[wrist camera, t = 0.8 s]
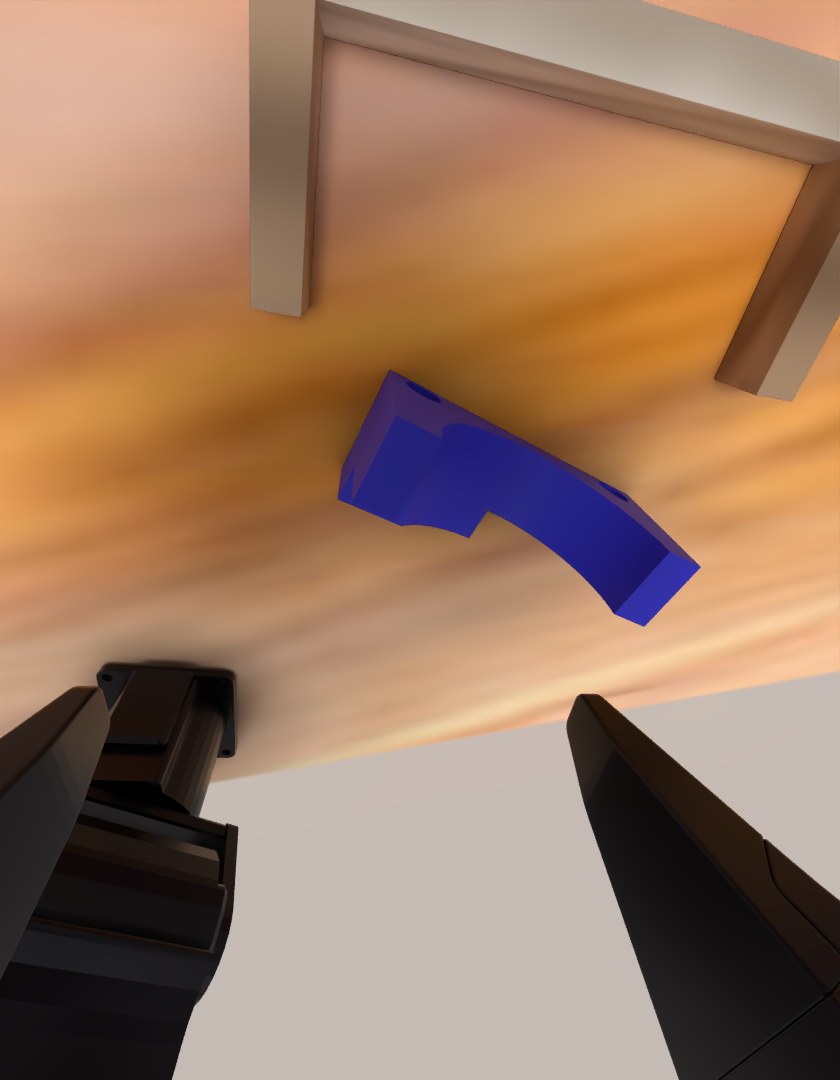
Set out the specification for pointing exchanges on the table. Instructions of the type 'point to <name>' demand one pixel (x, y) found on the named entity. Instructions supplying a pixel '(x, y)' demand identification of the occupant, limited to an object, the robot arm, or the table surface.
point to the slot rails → (583, 77)
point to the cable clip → (507, 495)
